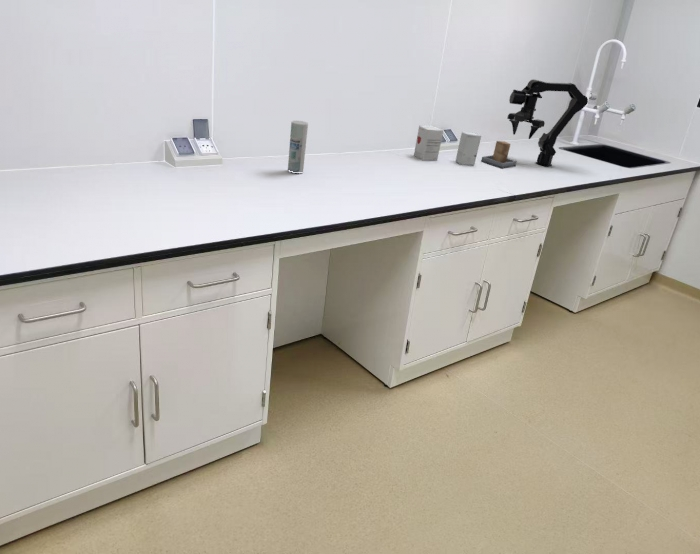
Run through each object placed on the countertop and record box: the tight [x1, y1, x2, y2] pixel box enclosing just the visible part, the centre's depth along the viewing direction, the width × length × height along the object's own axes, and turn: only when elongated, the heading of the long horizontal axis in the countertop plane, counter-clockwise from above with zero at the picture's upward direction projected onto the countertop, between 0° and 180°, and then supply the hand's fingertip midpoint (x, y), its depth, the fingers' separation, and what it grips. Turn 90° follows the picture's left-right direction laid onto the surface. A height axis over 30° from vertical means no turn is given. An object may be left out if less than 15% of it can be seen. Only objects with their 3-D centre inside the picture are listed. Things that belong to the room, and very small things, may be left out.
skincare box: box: [455, 131, 482, 166], centre depth 285 cm, size 8×6×15 cm
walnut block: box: [492, 140, 511, 163], centre depth 294 cm, size 5×5×10 cm
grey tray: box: [480, 155, 517, 169], centre depth 296 cm, size 13×13×2 cm
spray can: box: [287, 120, 309, 173], centre depth 232 cm, size 6×6×20 cm
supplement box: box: [413, 124, 444, 161], centre depth 285 cm, size 9×9×15 cm
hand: (521, 136), depth 301 cm, fingers open, 9 cm apart
